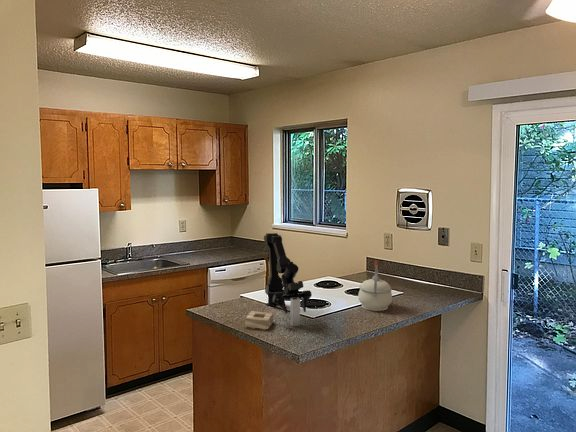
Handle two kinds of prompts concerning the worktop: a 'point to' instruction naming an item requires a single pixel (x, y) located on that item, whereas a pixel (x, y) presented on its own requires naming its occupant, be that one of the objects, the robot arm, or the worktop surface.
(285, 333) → the worktop surface
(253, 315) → the socket block
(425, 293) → the worktop surface
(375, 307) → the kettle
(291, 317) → the square bit
